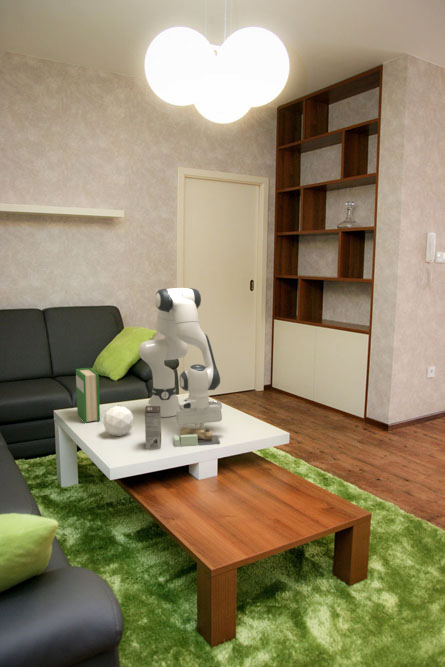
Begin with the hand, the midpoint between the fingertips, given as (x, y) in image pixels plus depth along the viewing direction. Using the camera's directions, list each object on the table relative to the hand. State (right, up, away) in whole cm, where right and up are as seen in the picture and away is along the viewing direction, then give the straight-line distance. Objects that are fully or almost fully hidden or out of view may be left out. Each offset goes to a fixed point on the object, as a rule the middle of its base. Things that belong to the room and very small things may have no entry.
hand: (199, 432), depth 233 cm
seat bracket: (-6, -3, -6) cm, 9 cm away
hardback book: (-57, +1, +33) cm, 66 cm away
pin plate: (+4, -3, -4) cm, 6 cm away
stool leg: (-1, -1, -2) cm, 3 cm away
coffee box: (-19, -4, -9) cm, 21 cm away
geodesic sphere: (-37, -2, +6) cm, 37 cm away
